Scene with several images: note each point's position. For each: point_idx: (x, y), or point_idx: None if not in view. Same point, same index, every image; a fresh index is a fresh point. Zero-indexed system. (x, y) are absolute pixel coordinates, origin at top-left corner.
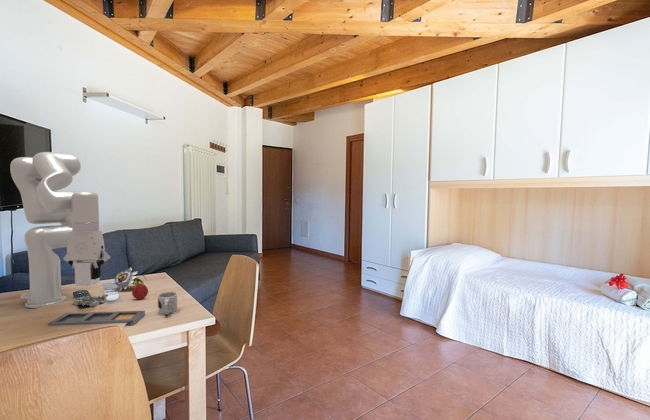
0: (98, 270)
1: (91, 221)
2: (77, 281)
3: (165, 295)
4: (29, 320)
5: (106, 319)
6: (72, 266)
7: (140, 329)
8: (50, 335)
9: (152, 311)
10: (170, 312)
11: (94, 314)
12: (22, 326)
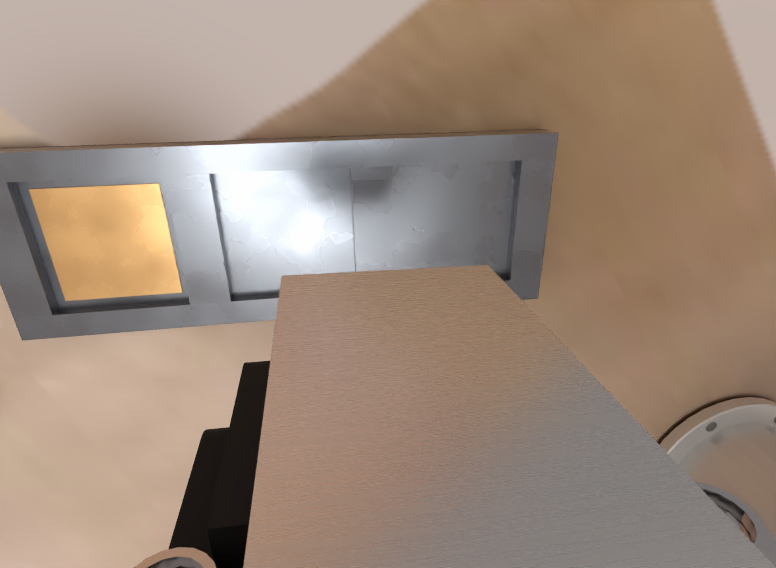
0: (182, 527)
1: None
2: (480, 294)
3: None
4: (696, 251)
5: (197, 184)
6: (751, 524)
7: None
8: (467, 9)
9: (34, 380)
10: None
11: None
12: (695, 169)
